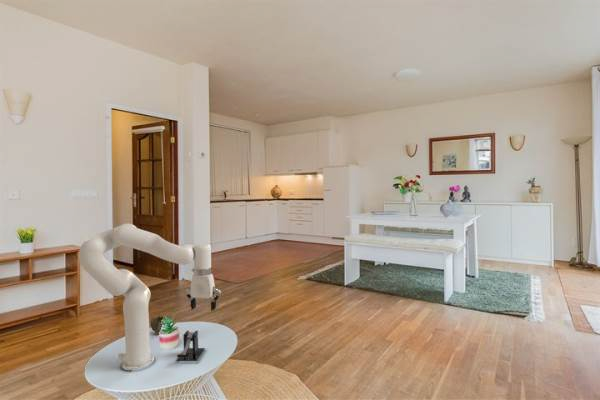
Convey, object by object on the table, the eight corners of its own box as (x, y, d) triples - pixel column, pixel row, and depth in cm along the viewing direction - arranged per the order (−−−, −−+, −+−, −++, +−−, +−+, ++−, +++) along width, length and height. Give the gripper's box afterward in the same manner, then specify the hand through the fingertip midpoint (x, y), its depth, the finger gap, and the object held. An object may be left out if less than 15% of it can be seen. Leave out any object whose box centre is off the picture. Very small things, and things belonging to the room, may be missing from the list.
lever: (189, 359, 142) (188, 355, 141) (177, 359, 143) (176, 355, 141) (197, 336, 153) (196, 332, 152) (186, 336, 153) (185, 332, 152)
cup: (147, 335, 175) (146, 319, 175) (158, 329, 181) (158, 315, 181) (157, 337, 172) (157, 322, 171) (169, 332, 178) (168, 317, 178)
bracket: (197, 362, 146) (196, 338, 146) (176, 362, 146) (175, 338, 146) (205, 350, 157) (204, 327, 157) (185, 350, 157) (185, 327, 157)
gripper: (180, 273, 151) (181, 310, 152) (217, 274, 148) (217, 313, 149) (189, 269, 159) (190, 305, 159) (224, 270, 155) (224, 307, 156)
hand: (203, 309), depth 154 cm, fingers open, 9 cm apart
